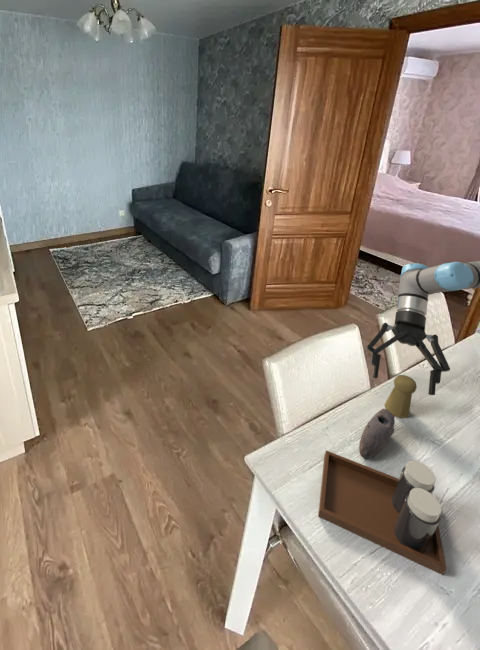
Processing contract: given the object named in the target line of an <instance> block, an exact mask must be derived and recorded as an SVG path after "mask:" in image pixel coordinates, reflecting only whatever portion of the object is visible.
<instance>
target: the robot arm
mask: <svg viewBox="0 0 480 650" xmlns="http://www.w3.org/2000/svg"><path fill="white" fill-rule="evenodd" d="M398 285H399V286H398V293H397V303H396V312H395V316H394V324H393V325H391V324H388V323H387V322H383V323H382V324H381V327H380V330H379V332H378V333H377V334H376V335H375V336H374V337H373V338H372V340H371V341H370V342H369V343H368V345H366V347H365V350H366V351H367V352H369V353H370V354H371V359H370V365H371V366H374V368H373V374H372V378H373V379H377V378H378V377H379V370H380V362H381V357H382V355H381V354H379V353H380V352H382V351H383V350H385V349H387V348H388V347H390V346H391V345H392V344H394V343H396V342H397V341H398V342H399V344H402V345H407V346H410V347H416V349H418V350H419V351H420V353H421V354H422V355H423V357H424V358H425V359H426V361H427V363H428V364H429V365H430V367H431V368H432V369H430V372H429V383H428V384H429V385H428V393H427V394H428V395H430V396H435V395H436V385H437V384H438V385H439V384H441V381H442V373H446V372H450V371H451V367H450V365H449V363H448V361H447V358H446V357H445V354H444V352H443V350H442V348H441V345H440V344H439V336H438V335H437V334H427V333H426V323H427V322H426V321H427V317H426V316H427V313H428V302H429V295H432V294H433V295H434V294H439V293H445V292H446V293H448V292H456V291H463V290H470V289H478V288H480V260H476V261H468V262H461V261H451V262H444V263H442V264H438V265H435V266H431V267H430V266H427V265H425V264H422V263H417V262H416V263H407V264H405V265H403V266H402V268H401V273H400V276H399V284H398ZM390 331H391V332H392V333H393V335H394V336H392V338H390V339H388V340H386V341H385V342H384V343H382V344H381V345H379V346H377V347H376V348H374V347H375V345H376V344H377V343H378V342H379V341H380V339H382V337H383V336H384V335H385V334H386V333H388V332H390ZM425 339H426V340H427V342H428V343H430V346H431V349H432V351H433V353H434V355H435V357H436V358H435V357H434V355H433V354H432V353H431V352H430V350H429V349H428V348H427V345H426V343H424V340H425Z"/></svg>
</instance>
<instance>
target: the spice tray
mask: <svg viewBox="0 0 480 650" xmlns="http://www.w3.org/2000/svg"><path fill="white" fill-rule="evenodd" d="M398 480H399V477H395V476H394V475H393V476H392V475H390V474H388V473H385V472H382V471H381V470H377V469H375V468H372V467H369V466H367V465H364V464H363V463H360V462H357V461H354V460H352V459H349V458H346V457H344V456H341V455H339V454H338V453H337V454H336V453H334V452H332V451H329V450H325V451H324V456H323V465H322V475H321V483H320V484H321V485H320V495H319V504H318V514H317V517H318V518H320V519H323V520H325V521H327V522H329V523H331V524H333V525H334V526H337V527H339V528H342V529H344V530H346V531H348V532H350V533H352V534H354V535H357V536H358V537H361V538H362V539H365V540H367V541H369V542H371V543H373V544H376V545H378V546H380V547H382V548H384V549H386V550H388V551H390V552H393V553H394V554H397V555H399V556H401V557H403V558H405V559H407V560H408V561H409V560H410V561H412V562H414V563H416V564H418V565H420V566H422V567H423V568H426V569H429V570H431V571H433V572H435V573H436V574H439V575H441V576H444V574H445V572H446V570H447V564H446V559H445V553H444V549H443V542H442V537H441V532H440V526H439V525H438V526H437V528H436V530H435V532H434V534H433V536H432V538H431V540H430V542H429V545H428V547H427V549H426V551H425V552H423V553H420V552H418V551H415V550H413V549H411V548H409V547H407V546H404V545H402V544H401V543H400V542H399V540H398V539H397V537H396V535H395V533H394V525H395V522H396V520H397V517H398V515H399V513H398V512H397V511H396V509H395V508H394V506H393V504H392V495H393V493H394V490H395V487H396V485H397V482H398ZM432 495H433V496H434V492H433V493H432Z"/></svg>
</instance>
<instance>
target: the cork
mask: <svg viewBox="0 0 480 650" xmlns="http://www.w3.org/2000/svg"><path fill="white" fill-rule="evenodd" d="M393 385H394V387H393V388H392V390H391V392H390V394H389V396H388V397H387V399H386V401H385V403H384V409H387V410H388V411H389V412H390V413H392V414H393V415H394V416H395V417H396V418H399V419H407V418H408V417H409V415H410V410H411V404H412V397H413V394H414V393H415V392H416V391H417V387H418V386H417V383H416V380H414V379H413V378H412V377H410V376H408V375H405V374H399V375H397V376H396V377H394V379H393Z"/></svg>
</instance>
